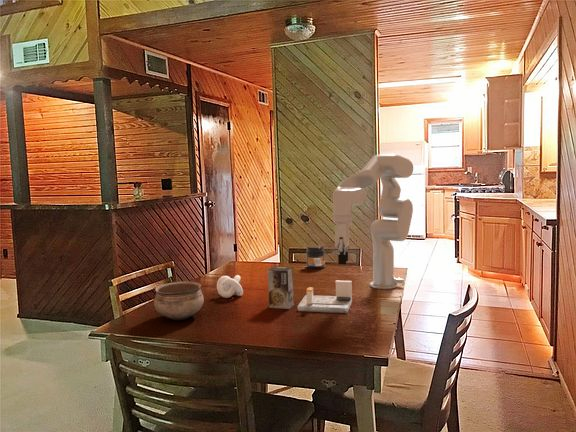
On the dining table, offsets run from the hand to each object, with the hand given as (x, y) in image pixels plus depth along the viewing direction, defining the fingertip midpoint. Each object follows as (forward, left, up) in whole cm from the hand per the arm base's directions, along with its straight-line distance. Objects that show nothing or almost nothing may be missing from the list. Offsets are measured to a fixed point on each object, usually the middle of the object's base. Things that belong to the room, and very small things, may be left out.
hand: (343, 262), depth 198 cm
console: (+7, +5, -17) cm, 19 cm away
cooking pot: (+61, +28, -18) cm, 69 cm away
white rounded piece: (+51, -4, -18) cm, 54 cm away
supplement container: (+24, -66, -18) cm, 72 cm away
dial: (0, 0, -15) cm, 15 cm away
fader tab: (+13, +9, -15) cm, 22 cm away
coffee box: (+25, +8, -18) cm, 32 cm away
